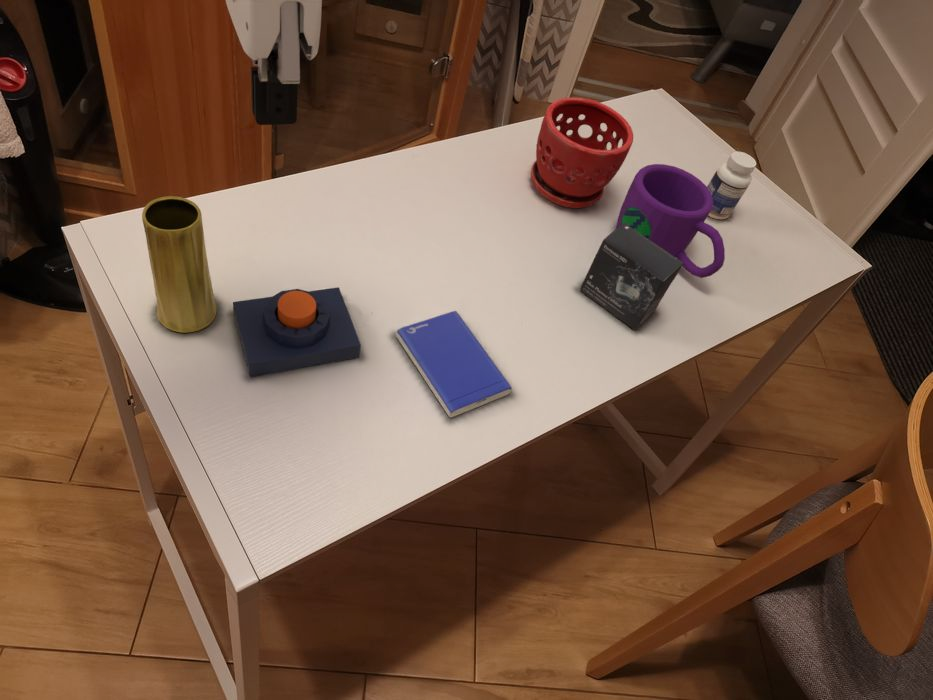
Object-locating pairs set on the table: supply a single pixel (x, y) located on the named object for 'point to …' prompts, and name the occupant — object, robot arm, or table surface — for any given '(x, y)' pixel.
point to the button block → (295, 334)
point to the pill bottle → (730, 184)
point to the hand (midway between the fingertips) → (274, 118)
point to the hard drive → (453, 363)
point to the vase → (179, 264)
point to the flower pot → (578, 152)
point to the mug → (672, 213)
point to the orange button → (296, 309)
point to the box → (630, 275)
